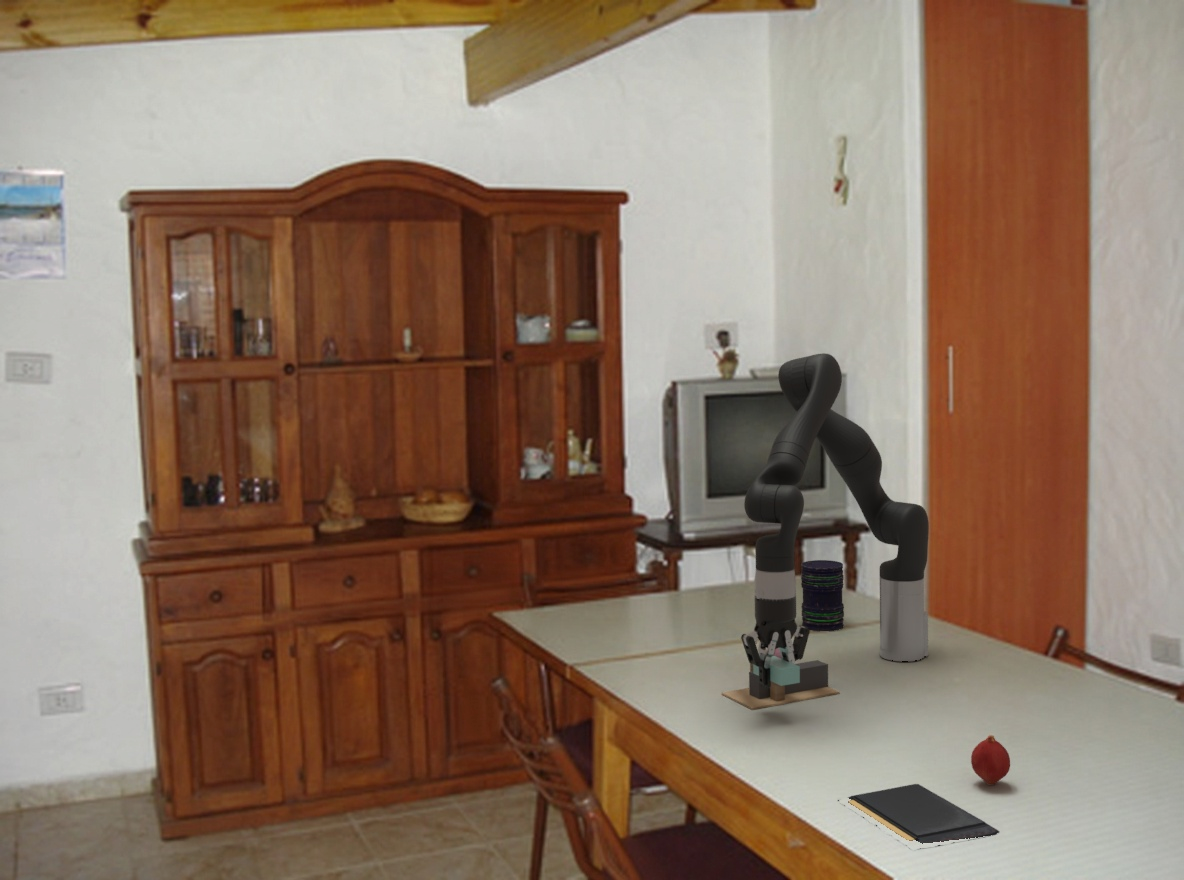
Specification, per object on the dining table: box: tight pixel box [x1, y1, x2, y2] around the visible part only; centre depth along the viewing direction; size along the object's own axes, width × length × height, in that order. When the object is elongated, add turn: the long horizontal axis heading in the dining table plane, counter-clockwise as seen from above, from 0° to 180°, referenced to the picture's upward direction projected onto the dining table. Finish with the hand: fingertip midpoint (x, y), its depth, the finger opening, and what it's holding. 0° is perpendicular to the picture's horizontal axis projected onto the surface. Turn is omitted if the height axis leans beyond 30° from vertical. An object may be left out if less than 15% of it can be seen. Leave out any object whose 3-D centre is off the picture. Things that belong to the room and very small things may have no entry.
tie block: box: [753, 656, 800, 686], centre depth 227 cm, size 4×9×3 cm, turn 25°
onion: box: [970, 734, 1011, 786], centre depth 192 cm, size 6×6×8 cm
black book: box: [847, 783, 1000, 844], centre depth 181 cm, size 20×2×15 cm
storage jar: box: [800, 559, 845, 632], centre depth 291 cm, size 10×10×15 cm
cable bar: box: [748, 659, 829, 699], centre depth 241 cm, size 16×4×4 cm, turn 115°
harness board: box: [721, 663, 841, 711], centre depth 240 cm, size 20×11×7 cm, turn 115°
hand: (776, 684), depth 227 cm, fingers closed on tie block, 4 cm apart
